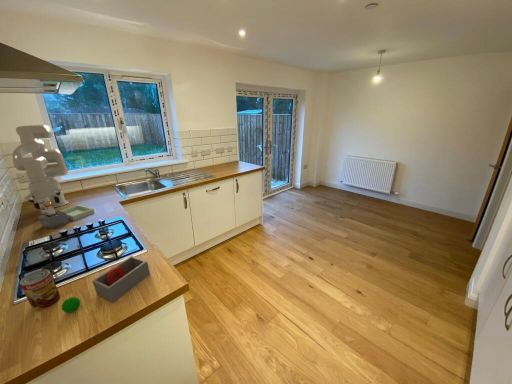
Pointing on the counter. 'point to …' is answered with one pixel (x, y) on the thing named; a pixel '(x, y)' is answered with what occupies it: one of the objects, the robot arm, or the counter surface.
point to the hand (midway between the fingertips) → (48, 205)
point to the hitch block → (53, 220)
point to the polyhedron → (70, 304)
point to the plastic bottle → (42, 205)
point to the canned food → (40, 289)
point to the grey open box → (122, 279)
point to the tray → (78, 212)
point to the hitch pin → (49, 208)
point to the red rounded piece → (111, 273)
